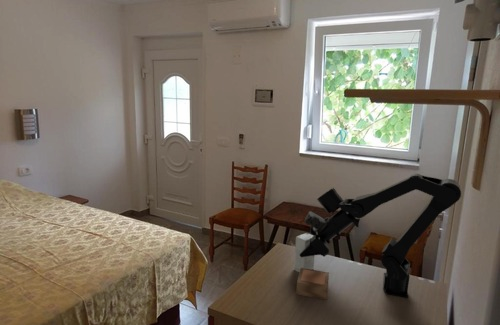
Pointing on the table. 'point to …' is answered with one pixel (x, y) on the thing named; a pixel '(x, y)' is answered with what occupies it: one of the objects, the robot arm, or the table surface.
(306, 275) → the walnut stand
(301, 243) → the skincare box
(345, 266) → the table surface
